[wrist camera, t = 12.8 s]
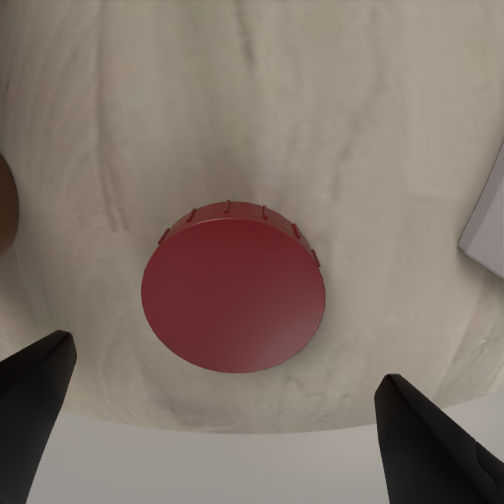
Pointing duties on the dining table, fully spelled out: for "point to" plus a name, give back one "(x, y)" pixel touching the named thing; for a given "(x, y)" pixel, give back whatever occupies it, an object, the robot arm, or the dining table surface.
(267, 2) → the dining table surface
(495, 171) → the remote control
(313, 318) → the lid
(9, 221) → the jar
